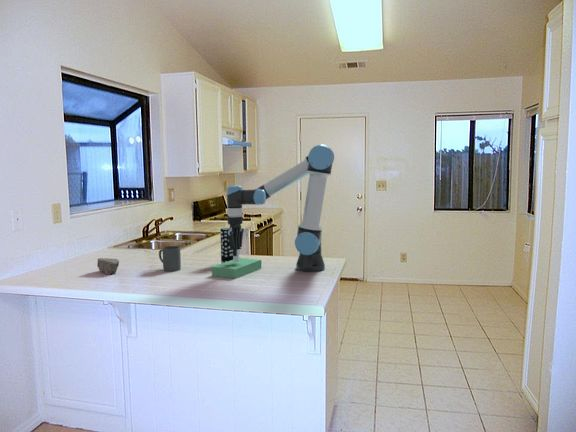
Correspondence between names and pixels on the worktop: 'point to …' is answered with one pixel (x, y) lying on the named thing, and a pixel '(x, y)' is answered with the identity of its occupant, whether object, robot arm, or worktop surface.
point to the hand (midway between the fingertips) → (236, 261)
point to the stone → (108, 265)
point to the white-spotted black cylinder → (225, 246)
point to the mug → (171, 258)
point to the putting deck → (236, 268)
